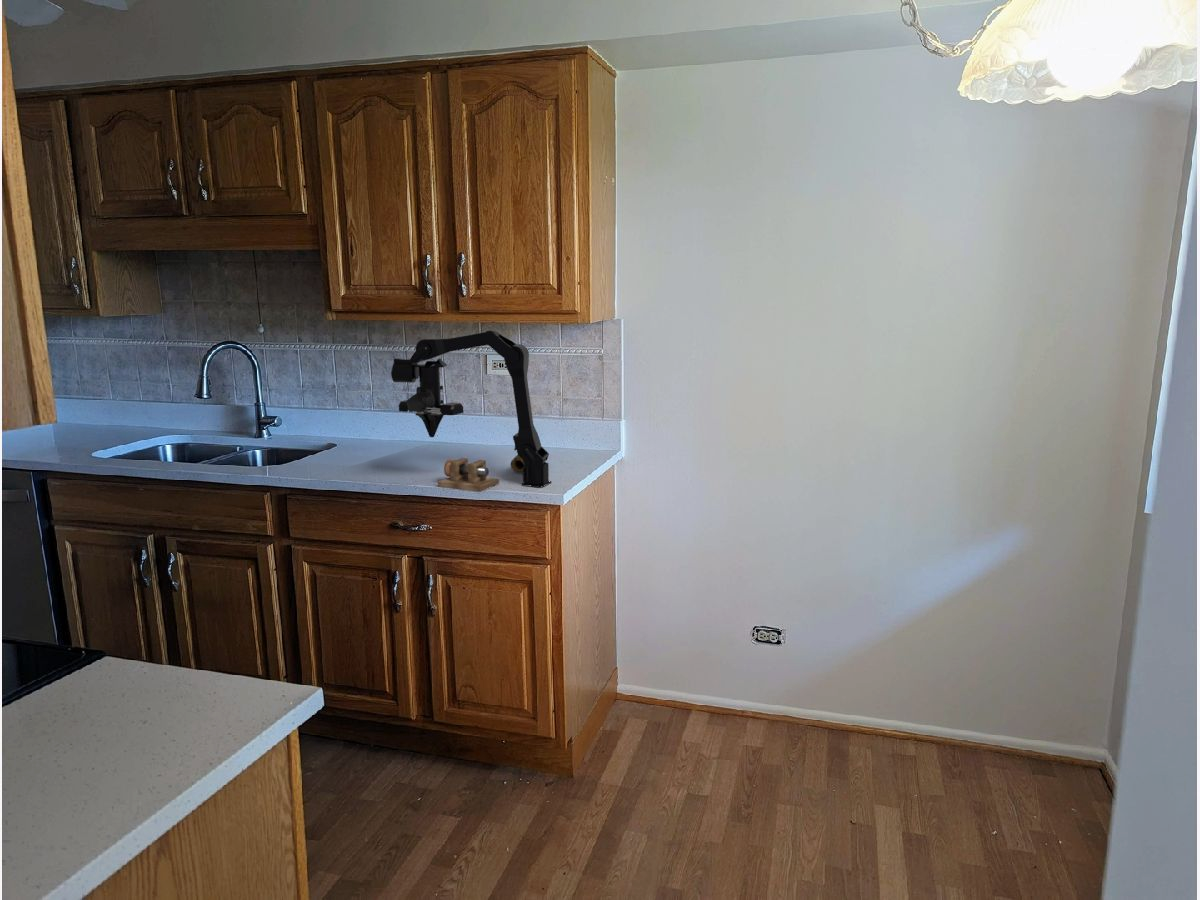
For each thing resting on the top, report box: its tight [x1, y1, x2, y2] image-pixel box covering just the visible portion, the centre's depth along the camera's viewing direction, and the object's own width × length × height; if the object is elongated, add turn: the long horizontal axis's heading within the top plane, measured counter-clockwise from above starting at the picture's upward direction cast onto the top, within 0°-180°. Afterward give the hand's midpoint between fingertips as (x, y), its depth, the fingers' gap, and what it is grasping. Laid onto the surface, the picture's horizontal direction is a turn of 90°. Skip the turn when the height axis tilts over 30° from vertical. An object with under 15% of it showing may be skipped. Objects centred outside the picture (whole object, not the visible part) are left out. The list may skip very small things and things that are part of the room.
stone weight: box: [510, 454, 524, 474], centre depth 262 cm, size 15×7×7 cm, turn 166°
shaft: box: [443, 458, 490, 478], centre depth 242 cm, size 12×5×5 cm, turn 65°
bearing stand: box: [437, 457, 500, 493], centre depth 242 cm, size 14×10×7 cm
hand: (431, 437), depth 245 cm, fingers closed
